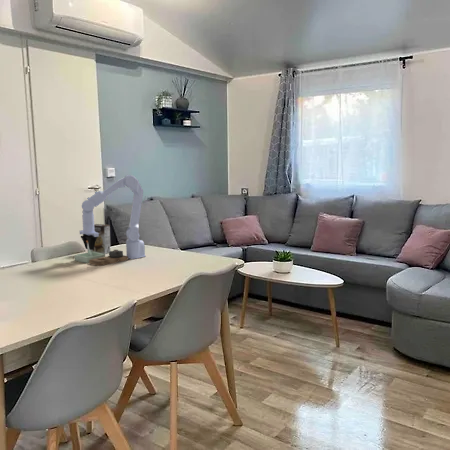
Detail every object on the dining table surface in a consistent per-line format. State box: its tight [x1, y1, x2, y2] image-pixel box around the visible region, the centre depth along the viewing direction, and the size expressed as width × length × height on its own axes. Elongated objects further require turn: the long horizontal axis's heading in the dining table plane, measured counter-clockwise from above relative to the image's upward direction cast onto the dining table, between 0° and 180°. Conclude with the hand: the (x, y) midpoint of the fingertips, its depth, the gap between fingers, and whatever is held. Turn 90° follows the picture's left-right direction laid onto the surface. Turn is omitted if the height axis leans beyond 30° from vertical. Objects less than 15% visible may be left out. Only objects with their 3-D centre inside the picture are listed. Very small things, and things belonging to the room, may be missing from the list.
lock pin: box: [86, 240, 93, 256], centre depth 245 cm, size 3×3×8 cm
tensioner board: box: [88, 249, 129, 267], centre depth 242 cm, size 18×8×6 cm, turn 139°
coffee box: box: [92, 223, 111, 255], centre depth 264 cm, size 9×6×16 cm
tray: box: [74, 252, 106, 264], centre depth 246 cm, size 11×11×3 cm
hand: (89, 249), depth 245 cm, fingers closed on lock pin, 3 cm apart
